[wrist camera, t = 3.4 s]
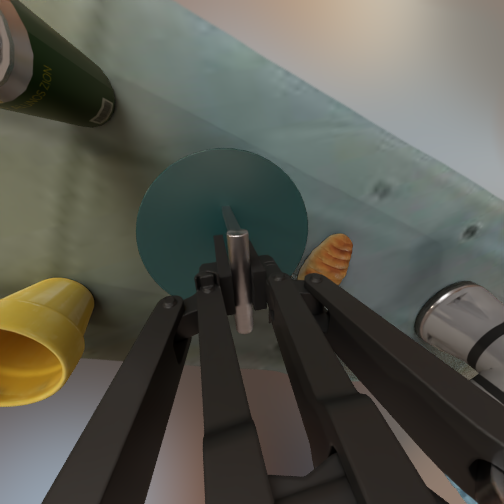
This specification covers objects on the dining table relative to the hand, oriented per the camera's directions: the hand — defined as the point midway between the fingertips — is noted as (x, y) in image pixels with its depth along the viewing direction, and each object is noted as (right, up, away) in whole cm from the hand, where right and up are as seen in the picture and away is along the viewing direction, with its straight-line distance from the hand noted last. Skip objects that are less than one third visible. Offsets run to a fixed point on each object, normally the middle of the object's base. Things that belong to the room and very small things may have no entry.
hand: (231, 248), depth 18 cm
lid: (0, +1, +2) cm, 2 cm away
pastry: (+12, -2, +15) cm, 19 cm away
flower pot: (-22, -6, +9) cm, 25 cm away
